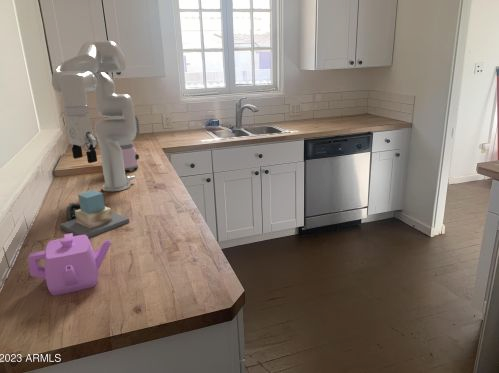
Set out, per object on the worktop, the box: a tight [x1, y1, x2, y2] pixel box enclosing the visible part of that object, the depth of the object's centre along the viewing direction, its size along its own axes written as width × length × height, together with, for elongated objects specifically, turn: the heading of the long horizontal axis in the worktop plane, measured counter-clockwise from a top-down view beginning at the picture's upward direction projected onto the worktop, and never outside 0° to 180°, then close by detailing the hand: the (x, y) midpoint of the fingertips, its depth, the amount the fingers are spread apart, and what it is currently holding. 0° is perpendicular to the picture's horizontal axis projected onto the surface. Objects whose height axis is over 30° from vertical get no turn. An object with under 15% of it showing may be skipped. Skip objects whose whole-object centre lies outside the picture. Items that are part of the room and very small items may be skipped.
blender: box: [108, 115, 140, 173], centre depth 208 cm, size 16×12×32 cm
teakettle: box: [27, 232, 112, 297], centre depth 107 cm, size 17×17×12 cm
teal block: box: [77, 189, 106, 214], centre depth 141 cm, size 6×6×6 cm
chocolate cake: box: [65, 202, 81, 221], centre depth 150 cm, size 10×7×12 cm
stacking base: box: [59, 205, 130, 239], centre depth 142 cm, size 18×16×6 cm
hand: (85, 159), depth 139 cm, fingers open, 9 cm apart
